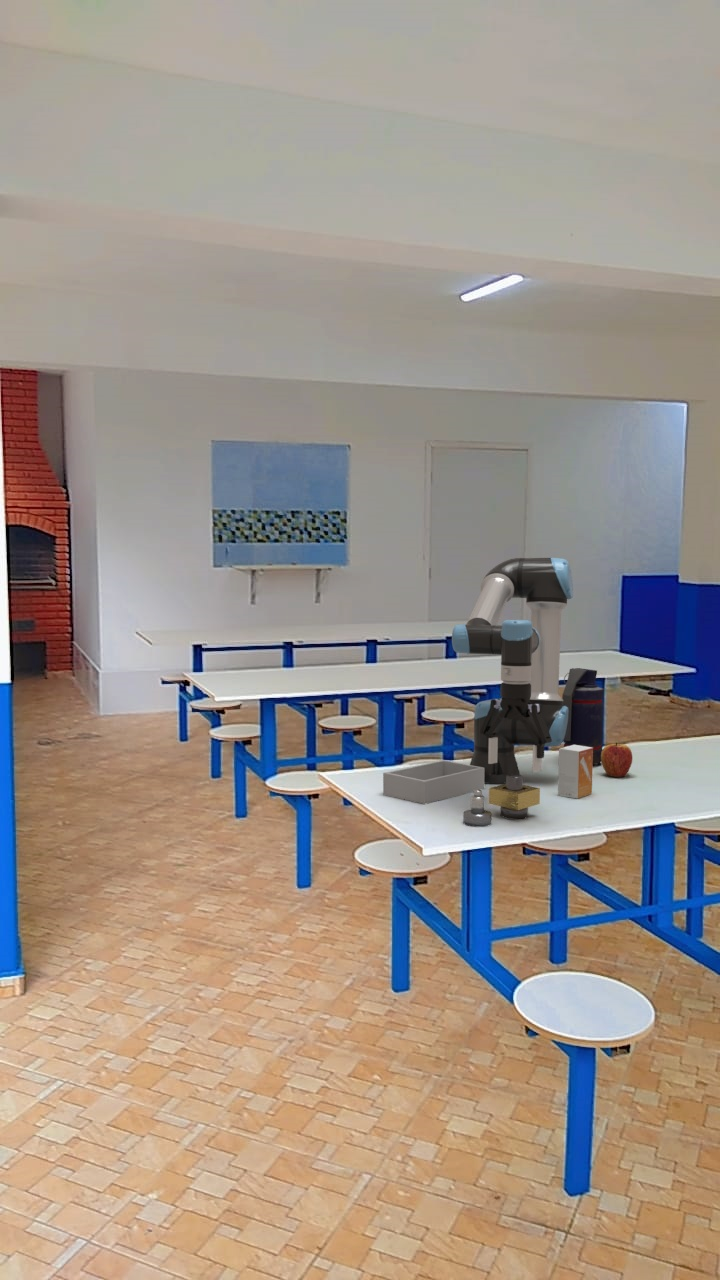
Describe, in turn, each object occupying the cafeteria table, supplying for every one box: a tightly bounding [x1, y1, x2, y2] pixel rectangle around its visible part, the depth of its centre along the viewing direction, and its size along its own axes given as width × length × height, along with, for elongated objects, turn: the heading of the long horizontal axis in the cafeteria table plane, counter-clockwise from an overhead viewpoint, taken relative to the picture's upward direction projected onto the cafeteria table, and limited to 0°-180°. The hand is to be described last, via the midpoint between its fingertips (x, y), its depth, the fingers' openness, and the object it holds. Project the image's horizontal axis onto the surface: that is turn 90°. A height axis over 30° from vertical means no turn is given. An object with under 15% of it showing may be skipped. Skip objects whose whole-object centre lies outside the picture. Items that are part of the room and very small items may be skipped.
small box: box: [557, 745, 594, 799], centre depth 274 cm, size 8×6×13 cm
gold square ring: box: [488, 783, 541, 810], centre depth 252 cm, size 9×9×4 cm
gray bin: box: [382, 759, 485, 805], centre depth 277 cm, size 15×25×6 cm, turn 134°
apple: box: [601, 742, 633, 778], centre depth 298 cm, size 9×9×10 cm
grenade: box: [561, 667, 605, 766], centre depth 314 cm, size 14×12×30 cm
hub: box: [462, 790, 493, 827], centre depth 245 cm, size 7×7×8 cm
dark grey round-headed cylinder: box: [499, 774, 529, 820], centre depth 252 cm, size 7×7×10 cm
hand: (514, 767), depth 251 cm, fingers open, 13 cm apart
